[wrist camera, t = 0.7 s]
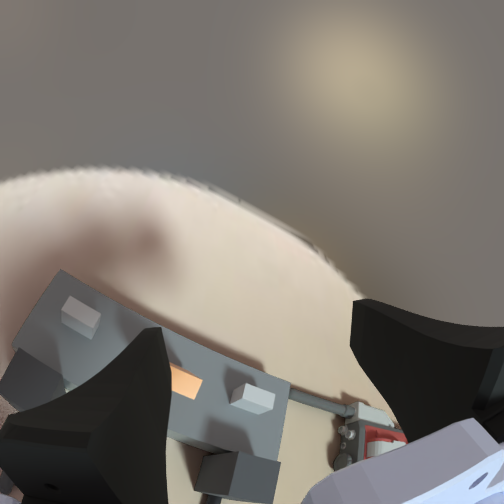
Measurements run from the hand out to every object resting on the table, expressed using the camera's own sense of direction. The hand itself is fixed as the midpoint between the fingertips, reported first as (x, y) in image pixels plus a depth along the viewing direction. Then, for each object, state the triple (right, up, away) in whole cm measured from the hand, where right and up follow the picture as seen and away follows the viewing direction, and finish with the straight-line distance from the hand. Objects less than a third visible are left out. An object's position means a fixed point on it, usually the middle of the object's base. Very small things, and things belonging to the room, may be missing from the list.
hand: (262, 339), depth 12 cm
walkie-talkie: (+10, -17, +16) cm, 25 cm away
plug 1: (-16, -9, +3) cm, 19 cm away
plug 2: (-4, -16, +6) cm, 17 cm away
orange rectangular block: (-6, -5, +9) cm, 12 cm away
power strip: (-8, -7, +11) cm, 15 cm away
